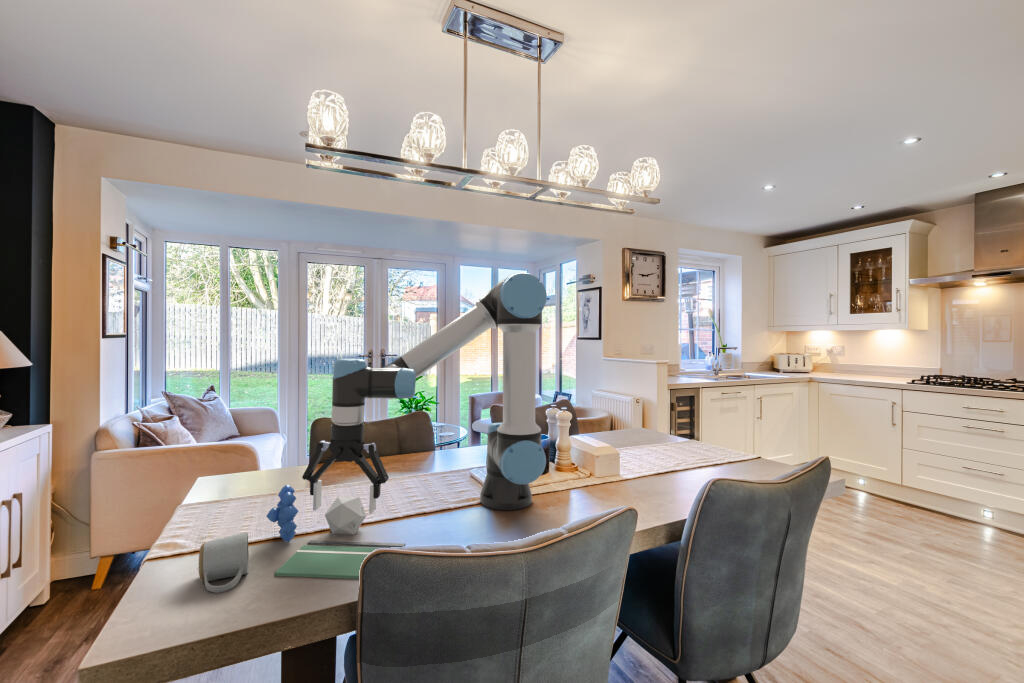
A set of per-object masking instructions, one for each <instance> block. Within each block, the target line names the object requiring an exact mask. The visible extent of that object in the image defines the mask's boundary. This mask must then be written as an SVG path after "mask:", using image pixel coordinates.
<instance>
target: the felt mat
mask: <svg viewBox="0 0 1024 683" xmlns="http://www.w3.org/2000/svg"><path fill="white" fill-rule="evenodd" d="M378 548H379V547H374V546H346V545H318V544H303V545H302V546H301V547H299V549H297V550H296V552H294V553H293V555H291V556H290V558H288V559H287V561H284V563H283V564H282V565H281V566H280V567H279V568H277V570H276V571H275V572H274V576H275V577H296V578H297V577H299V578H302V577H305V578H325V579H327V578H328V579H351V580H352V579H353V580H360V579H359V570H360V566H361V563H362V562H363V560H364V558H365V557H366V556H367V555H368V554H369V553H370V552H372V551H373V550H375V549H378Z"/></svg>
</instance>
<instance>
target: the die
mask: <svg viewBox="0 0 1024 683" xmlns="http://www.w3.org/2000/svg"><path fill="white" fill-rule="evenodd" d="M367 515H368V514H367V513H366V511H365V508H364V505H363V503H362V501H361V498H360V496H337V497H336V498H335V500H334V502H332V504H331V506H329V508H328V510H326V512H325V514H324V517H325V519H326V522H327V524H328V527H329V529H330V531H331V534H332V535H351V536H352V535H356V533H357V532H358V531H359V528H360V527H361V525H362V524H363V522H364V520H365V519H366V517H367Z"/></svg>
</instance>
